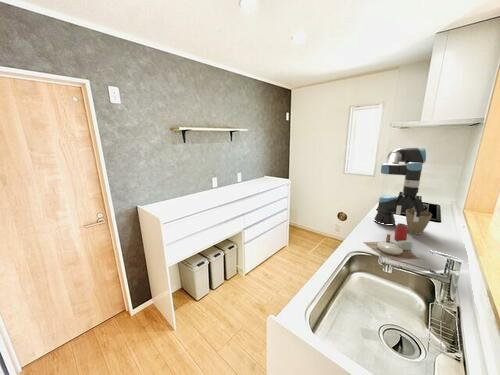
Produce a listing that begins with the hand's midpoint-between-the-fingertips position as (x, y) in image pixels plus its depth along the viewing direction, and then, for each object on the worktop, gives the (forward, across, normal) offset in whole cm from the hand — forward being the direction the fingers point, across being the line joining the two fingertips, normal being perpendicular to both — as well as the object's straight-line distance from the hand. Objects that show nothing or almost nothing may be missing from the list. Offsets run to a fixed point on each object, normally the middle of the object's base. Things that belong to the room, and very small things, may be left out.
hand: (406, 217), depth 134 cm
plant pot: (+17, -14, +23) cm, 32 cm away
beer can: (+17, -1, -1) cm, 17 cm away
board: (+17, +11, -20) cm, 29 cm away
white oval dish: (+16, +12, -17) cm, 26 cm away
